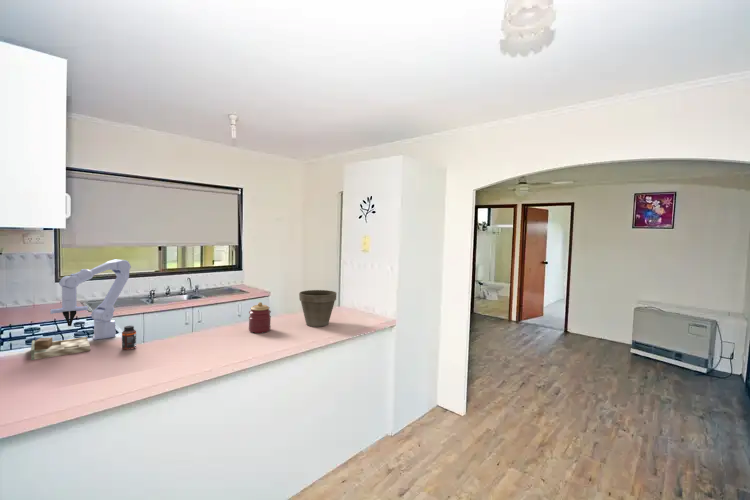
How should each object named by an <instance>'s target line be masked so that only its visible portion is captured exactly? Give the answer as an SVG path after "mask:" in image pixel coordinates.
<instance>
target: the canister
mask: <svg viewBox="0 0 750 500" xmlns="http://www.w3.org/2000/svg"><path fill="white" fill-rule="evenodd" d="M271 312H272V310H270V307H269V306H268V305H267V304H263V303H262V302H261V301H260V302H258V303H257V304H256V305H255V304H254V305H253V306H252V307H250V310H249V311H248V314H249V317H248V331H250V333H252V332H255V333H254V334H263V333H262V332H265V333H268V332H270V331H271V327H272V326H271V317H272V316H271ZM269 330H270V331H269ZM267 331H268V332H267Z"/></svg>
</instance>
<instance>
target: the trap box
mask: <svg viewBox="0 0 750 500" xmlns="http://www.w3.org/2000/svg"><path fill="white" fill-rule="evenodd" d="M35 341H36V339H32V341H31V346H30V347H31V348H30V356H31V357H30V361H33V360H34V361H35V360H40V359H45V358H46V359H47V358H53V357H58V356H59V357H60V356H65V355H70V354H71V355H72V354H77V353H78V354H79V353H84V352H90V351H91V345H90V342H89V339H88V336H86V337H85V336H84V337H78V338H77V337H76V338H71V339H68V338H67V339H63V340H54V341H53V340H52V344H53V345H52V346H51V347H50V348H48V349H37V350H35Z"/></svg>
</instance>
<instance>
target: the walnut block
mask: <svg viewBox="0 0 750 500" xmlns="http://www.w3.org/2000/svg"><path fill="white" fill-rule="evenodd" d="M52 342H53V337H41V338H37V339H35V350H37V349H48V348H50V347H51V346H52V345H53V344H52Z"/></svg>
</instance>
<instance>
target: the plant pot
mask: <svg viewBox="0 0 750 500" xmlns="http://www.w3.org/2000/svg"><path fill="white" fill-rule="evenodd" d="M298 295H299V301H300V303H301V308H302V312H303V316H304V317H303V318H304V320H305V325H307V326H309V327H312V328H313V327H315V328H318V327H326V326H328V325H329V323H330V320H331V319H330V318H331V316H332V312H333V309H334V306H335V305H334V304H335V302H336V300H337V292H336V291H334V290H327V289H326V290H325V289H311V290H310V289H309V290H303V291H300V292H299V293H298Z"/></svg>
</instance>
